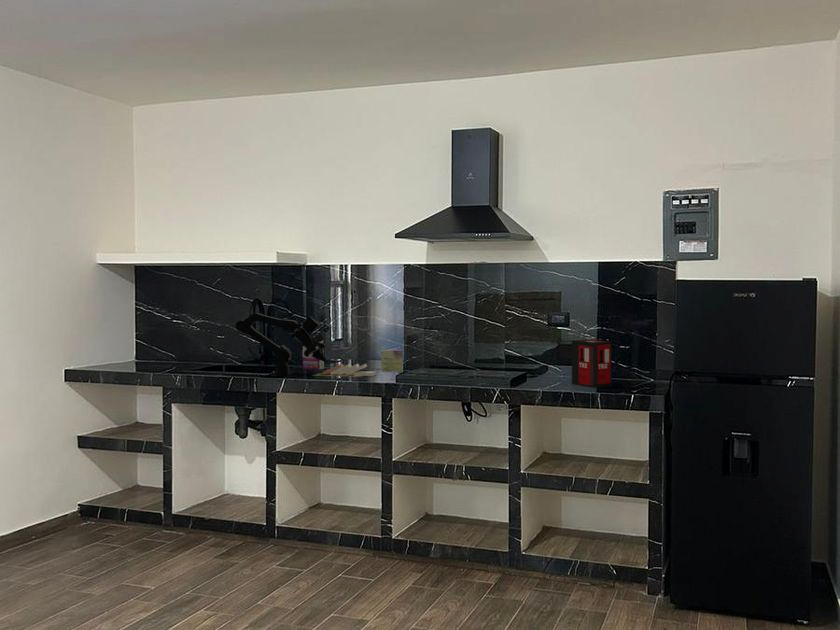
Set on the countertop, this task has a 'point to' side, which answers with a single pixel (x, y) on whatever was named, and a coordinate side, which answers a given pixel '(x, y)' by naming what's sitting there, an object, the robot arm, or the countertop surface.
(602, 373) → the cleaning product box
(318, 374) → the domino board
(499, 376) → the countertop surface
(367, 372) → the domino
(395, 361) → the box
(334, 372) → the domino
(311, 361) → the candy bar box
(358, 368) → the domino
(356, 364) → the domino
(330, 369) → the domino
